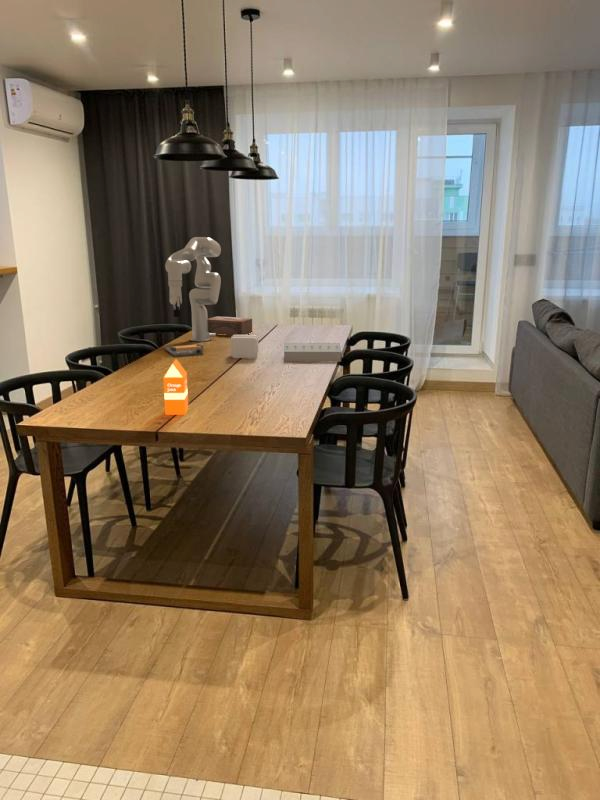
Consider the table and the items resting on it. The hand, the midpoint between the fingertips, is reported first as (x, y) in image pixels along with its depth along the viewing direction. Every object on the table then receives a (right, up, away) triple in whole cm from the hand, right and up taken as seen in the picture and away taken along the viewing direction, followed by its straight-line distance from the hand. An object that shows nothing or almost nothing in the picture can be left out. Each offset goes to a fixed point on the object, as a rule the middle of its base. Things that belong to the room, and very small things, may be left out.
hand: (177, 316), depth 352 cm
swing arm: (+7, -19, -6) cm, 21 cm away
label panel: (+4, -20, 0) cm, 20 cm away
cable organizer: (+39, -24, -12) cm, 47 cm away
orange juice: (+22, -52, -110) cm, 123 cm away
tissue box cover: (+23, -4, +58) cm, 63 cm away
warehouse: (+76, -25, -16) cm, 82 cm away
